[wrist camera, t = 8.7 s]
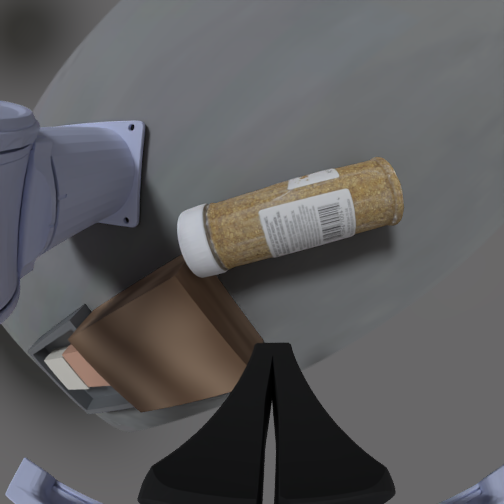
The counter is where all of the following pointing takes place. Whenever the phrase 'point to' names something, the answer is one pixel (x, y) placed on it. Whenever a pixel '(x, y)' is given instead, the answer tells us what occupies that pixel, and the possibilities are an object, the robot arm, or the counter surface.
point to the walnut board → (168, 339)
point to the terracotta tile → (83, 368)
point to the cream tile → (64, 370)
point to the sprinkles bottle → (290, 216)
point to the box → (87, 399)
